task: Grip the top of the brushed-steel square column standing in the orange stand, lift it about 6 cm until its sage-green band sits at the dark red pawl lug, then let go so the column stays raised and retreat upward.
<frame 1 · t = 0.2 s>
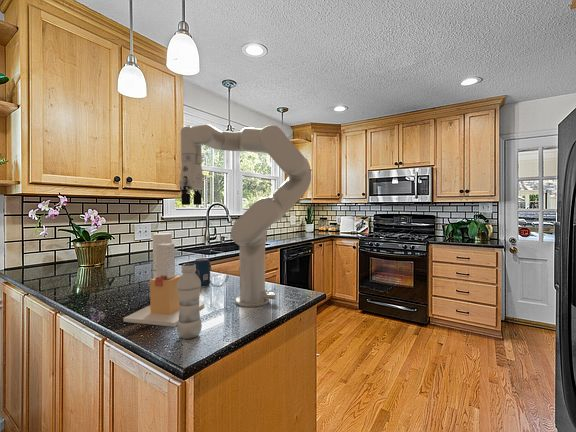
hand: (191, 204, 116), 37 cm above the counter, tool pointing down, fingers open, 9 cm apart
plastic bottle: (189, 337, 83), on the counter
steel column: (166, 276, 100), point 12 cm above the counter, slide at 0.0 cm
soda can: (202, 285, 136), on the counter
cylindrical container: (163, 295, 121), on the counter
stand base: (166, 313, 101), on the counter
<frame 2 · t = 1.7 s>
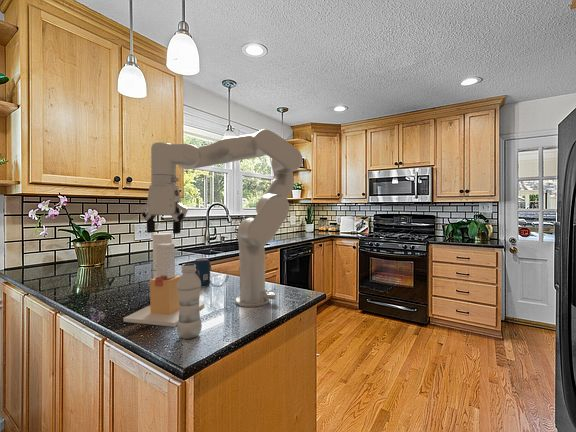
hand: (163, 232, 100), 27 cm above the counter, tool pointing down, fingers open, 9 cm apart
nothing on the counter moved.
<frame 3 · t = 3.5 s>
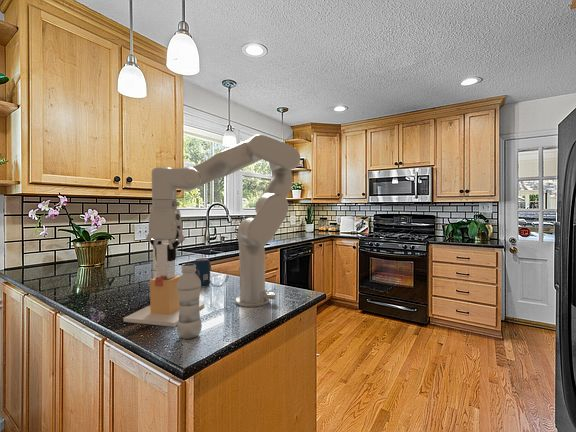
hand: (165, 259, 100), 18 cm above the counter, tool pointing down, fingers closed on steel column, 4 cm apart
steel column: (166, 276, 100), point 12 cm above the counter, slide at 0.0 cm, touching gripper
everything else where it was.
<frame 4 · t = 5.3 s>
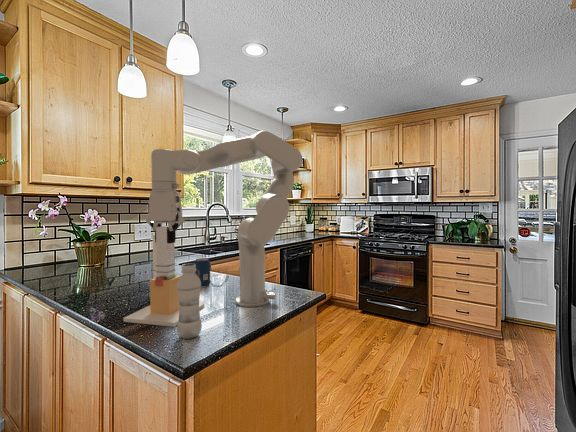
hand: (165, 242, 100), 24 cm above the counter, tool pointing down, fingers closed on steel column, 4 cm apart
steel column: (165, 259, 100), point 18 cm above the counter, slide at 5.9 cm, touching gripper
everything else where it was.
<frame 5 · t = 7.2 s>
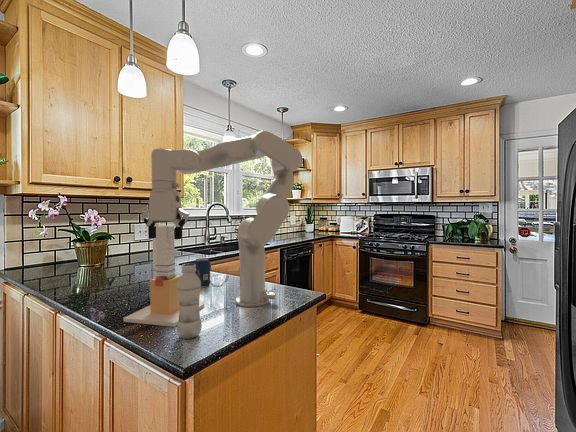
hand: (165, 238, 100), 25 cm above the counter, tool pointing down, fingers open, 9 cm apart
steel column: (165, 259, 100), point 18 cm above the counter, slide at 6.0 cm
everything else where it was.
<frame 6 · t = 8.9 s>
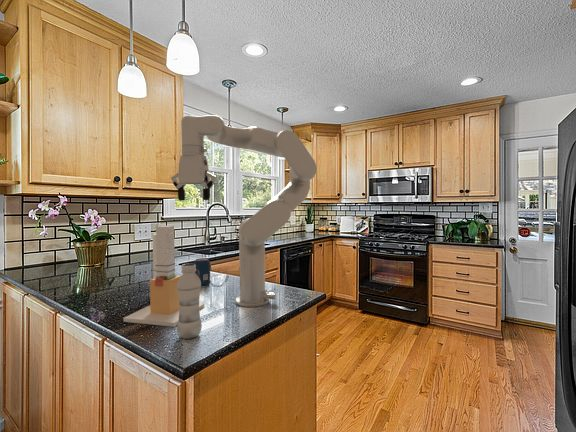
hand: (193, 200, 108), 38 cm above the counter, tool pointing down, fingers open, 9 cm apart
nothing on the counter moved.
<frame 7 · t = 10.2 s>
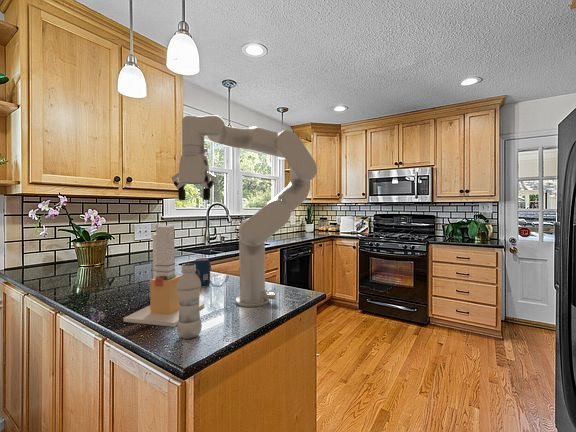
hand: (194, 200, 108), 38 cm above the counter, tool pointing down, fingers open, 9 cm apart
nothing on the counter moved.
at the end: steel column slide at 6.0 cm; the gripper is holding nothing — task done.
